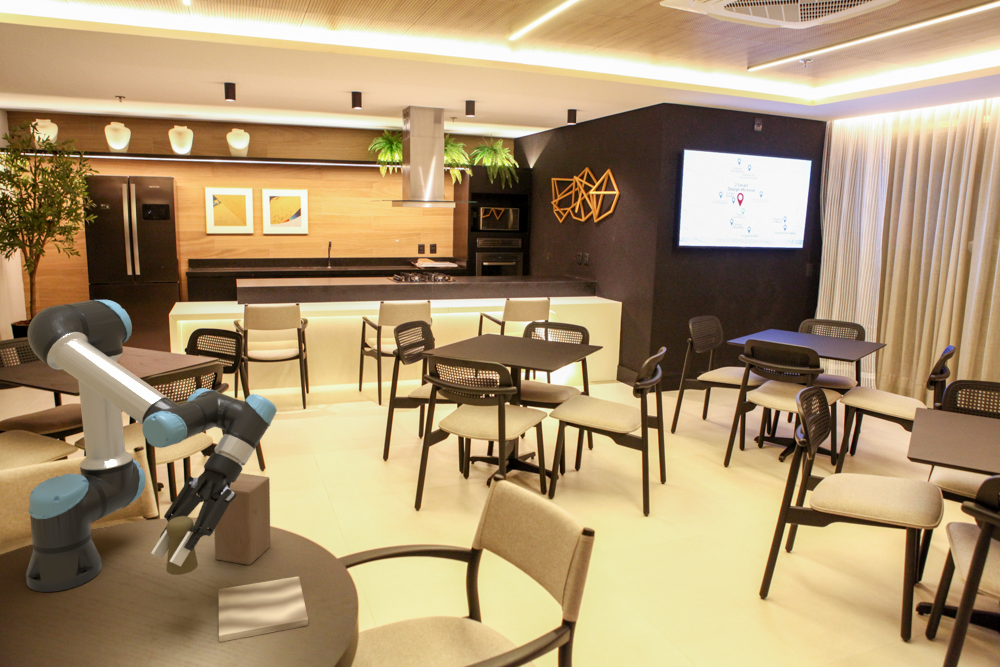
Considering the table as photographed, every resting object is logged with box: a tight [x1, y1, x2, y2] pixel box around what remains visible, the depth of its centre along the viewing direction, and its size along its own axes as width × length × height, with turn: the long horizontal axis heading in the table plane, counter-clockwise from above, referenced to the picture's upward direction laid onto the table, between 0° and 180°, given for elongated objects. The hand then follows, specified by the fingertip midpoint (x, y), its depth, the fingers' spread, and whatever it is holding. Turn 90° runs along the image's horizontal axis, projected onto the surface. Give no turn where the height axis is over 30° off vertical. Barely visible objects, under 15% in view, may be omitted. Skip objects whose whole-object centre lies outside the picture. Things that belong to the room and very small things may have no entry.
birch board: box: [218, 576, 309, 643], centre depth 150 cm, size 18×18×2 cm
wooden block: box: [214, 472, 271, 566], centre depth 171 cm, size 10×10×20 cm
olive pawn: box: [165, 516, 199, 576], centre depth 140 cm, size 6×6×11 cm
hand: (165, 559), depth 137 cm, fingers closed on olive pawn, 5 cm apart
